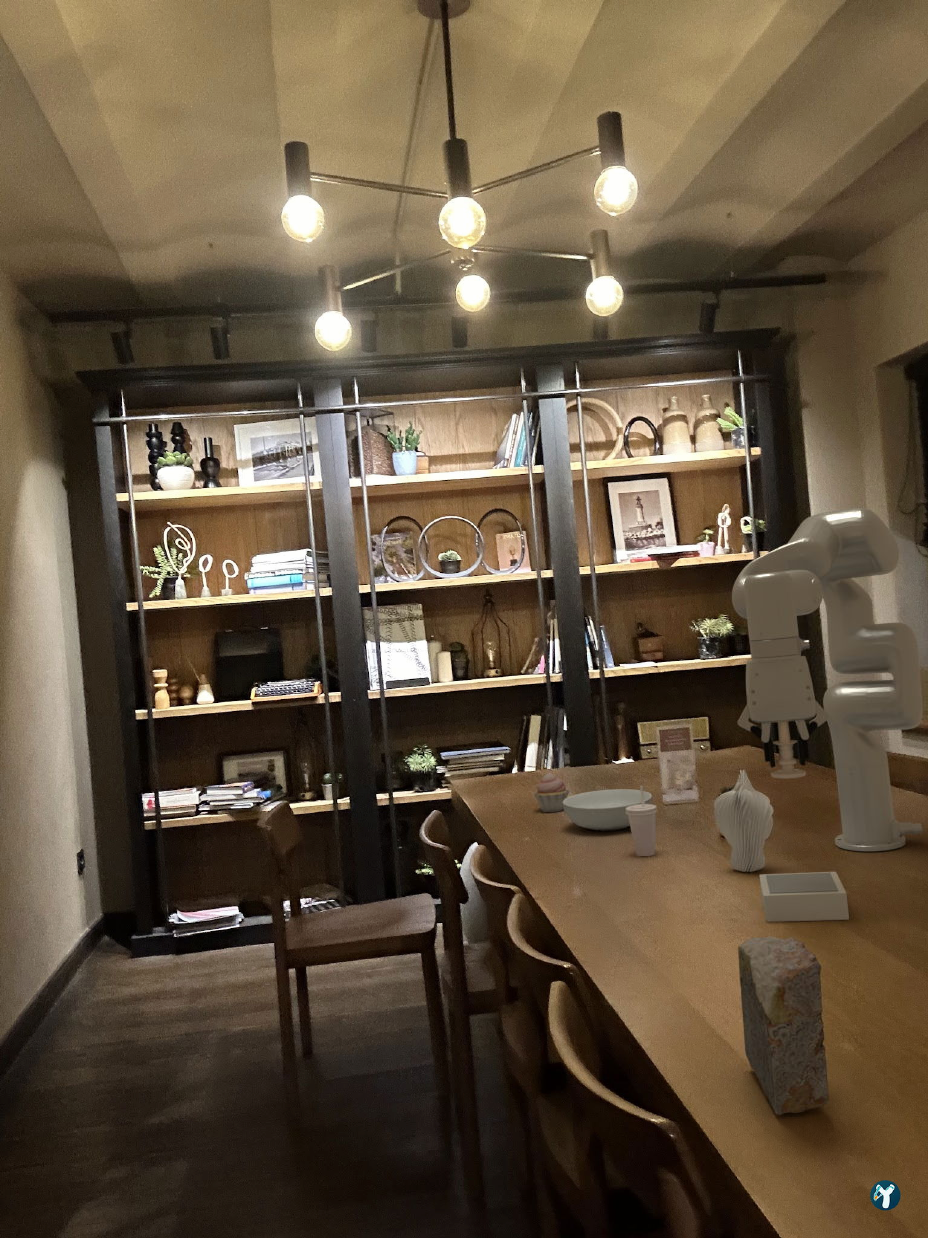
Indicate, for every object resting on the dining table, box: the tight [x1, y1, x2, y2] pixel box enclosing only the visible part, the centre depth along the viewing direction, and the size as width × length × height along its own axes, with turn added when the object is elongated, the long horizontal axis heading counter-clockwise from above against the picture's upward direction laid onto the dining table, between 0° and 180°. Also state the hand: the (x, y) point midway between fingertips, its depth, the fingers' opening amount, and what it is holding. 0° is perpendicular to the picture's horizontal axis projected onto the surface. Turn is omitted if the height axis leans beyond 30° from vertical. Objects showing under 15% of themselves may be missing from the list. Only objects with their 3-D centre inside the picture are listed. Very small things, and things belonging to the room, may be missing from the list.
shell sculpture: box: [713, 769, 774, 873], centre depth 178 cm, size 8×8×18 cm
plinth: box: [759, 871, 850, 923], centre depth 153 cm, size 12×12×4 cm
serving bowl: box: [563, 788, 653, 832], centre depth 227 cm, size 21×21×7 cm
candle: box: [770, 721, 807, 779], centre depth 153 cm, size 5×5×10 cm
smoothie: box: [626, 785, 658, 857], centre depth 197 cm, size 6×6×14 cm
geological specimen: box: [737, 936, 830, 1116], centre depth 97 cm, size 11×6×15 cm, turn 178°
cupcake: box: [533, 771, 570, 813], centre depth 253 cm, size 9×9×10 cm
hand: (787, 764), depth 153 cm, fingers closed on candle, 3 cm apart
